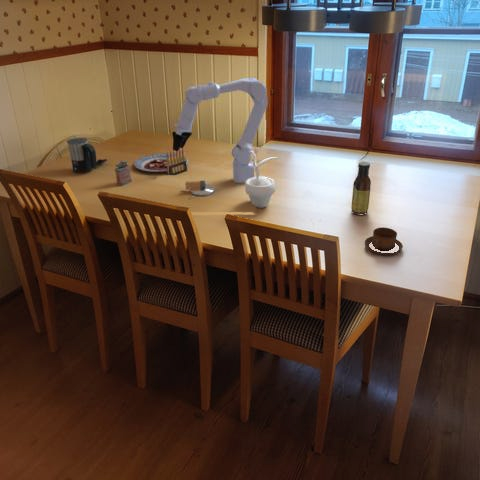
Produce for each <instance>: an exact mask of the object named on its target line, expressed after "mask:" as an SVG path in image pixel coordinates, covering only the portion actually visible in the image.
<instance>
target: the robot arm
mask: <svg viewBox="0 0 480 480" xmlns="http://www.w3.org/2000/svg"><path fill="white" fill-rule="evenodd" d="M237 91H242V92H244V93H245V94H248V95H249V96H250V97H251V99H252V102H253V107H252V108H251V111H250V114H249V117H248V120H247V122H246V125H245V127H244V129H243V132H242V135H241V137H240V139H239V140H238V141H237V142H236V144H235V146H234V147H233V148H232V150H231V156H232V157H233V161H232V176H233V177H232V178H233V179H232V180H233V182H234V183H237V184H245V181H246V180H247V179H249V178H253V177H256V175H255V167H254V165H253V162H250V161H252V153H250V152H249V151H253V145H252V144H253V142H254V140H255V137H256V135H257V132H258V130H259V127H260V125H261V122H262V119H263V118H264V115H265V113H266V109H267V107H268V94H267V92H268V89H267V88H266V86H265V83H264V82H262V81H260V80H258V79H257V78H255V77H249V78H247V77H245V78H240V79H237V80H234V81H233V80H232V81H229V82H226V83H222V84H217V82H212V81H209V82H208V83H207V84H202V85H200V84H196V86H193V85H192V86H189V87H187V88H186V90H185V91H184V97H185V98H184V102H183V104H182V108H181V111H180V114H179V117H178V122H177V124H176V123H175V124H174V125H173V126H174V127H175V129H176V131H172V133H171V134H172V141H173V142H172V151H173V150H175V152H176V151H178V152H179V148H181V149H182V148H183V147H184V148H185V146H186V143H187V141H188V140H189V138H190V137H191V136H192V135H193V132H192V128H193V127H192V126H193V123H194V121H195V117H196V114H197V110H198V106H199V104H200V103H201V102H202V101H206V100H213V99H215V98H219V96H220V95H221V94H225V93H231V92H237Z"/></svg>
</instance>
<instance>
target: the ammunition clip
mask: <svg viewBox="0 0 480 480" xmlns="http://www.w3.org/2000/svg"><path fill="white" fill-rule="evenodd" d="M166 154H167V171H166V176H177V175H180V174H182V173H185V172H188V163H187V164H186V160H185V158H186V154H185V146H184V147H183V148H179V150H178V151H175V150H173V149H170V151H169V150H167V151H166ZM169 154H170V156H169ZM172 154H173V155H172Z"/></svg>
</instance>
